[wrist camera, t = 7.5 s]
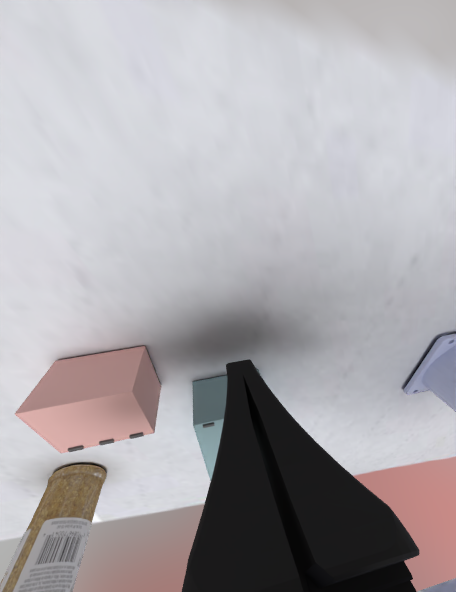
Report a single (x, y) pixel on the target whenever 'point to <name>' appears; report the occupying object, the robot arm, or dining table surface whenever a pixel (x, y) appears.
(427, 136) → the dining table surface
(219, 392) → the teal elongated prism
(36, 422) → the stub
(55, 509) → the sprinkles bottle
